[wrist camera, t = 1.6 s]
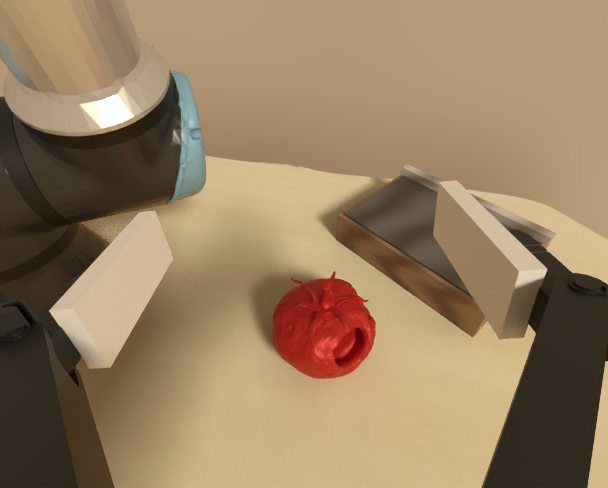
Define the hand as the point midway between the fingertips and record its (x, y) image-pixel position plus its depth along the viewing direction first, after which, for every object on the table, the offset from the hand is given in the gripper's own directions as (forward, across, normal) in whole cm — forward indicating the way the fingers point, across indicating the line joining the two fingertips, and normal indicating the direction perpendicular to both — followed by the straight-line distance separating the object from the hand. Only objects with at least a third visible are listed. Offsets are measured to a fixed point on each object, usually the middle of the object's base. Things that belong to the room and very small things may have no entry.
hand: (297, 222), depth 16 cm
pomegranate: (+10, 0, -20) cm, 23 cm away
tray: (+22, +15, -18) cm, 32 cm away
